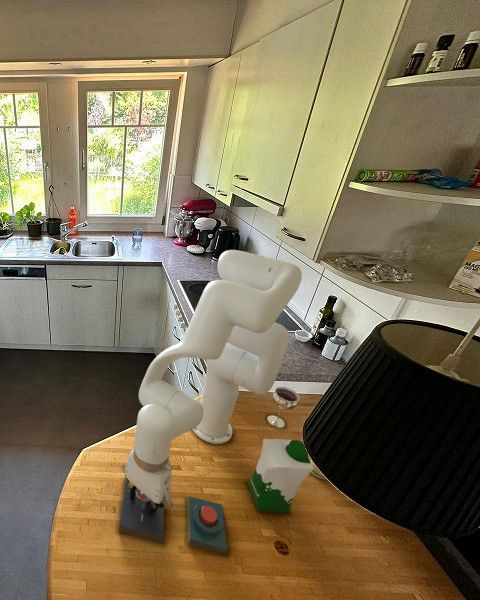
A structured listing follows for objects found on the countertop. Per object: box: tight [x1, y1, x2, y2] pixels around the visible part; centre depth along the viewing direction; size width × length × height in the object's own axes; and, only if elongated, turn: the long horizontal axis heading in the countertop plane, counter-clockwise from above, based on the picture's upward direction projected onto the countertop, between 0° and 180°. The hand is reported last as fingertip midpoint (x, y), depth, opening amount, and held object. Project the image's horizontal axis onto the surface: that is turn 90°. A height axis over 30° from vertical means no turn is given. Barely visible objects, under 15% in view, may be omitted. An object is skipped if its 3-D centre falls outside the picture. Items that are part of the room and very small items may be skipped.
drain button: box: [200, 506, 217, 526], centre depth 76 cm, size 4×4×2 cm
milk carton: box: [247, 438, 314, 514], centre depth 79 cm, size 9×9×20 cm
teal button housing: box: [186, 496, 228, 555], centre depth 77 cm, size 10×8×4 cm
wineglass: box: [267, 386, 300, 428], centre depth 103 cm, size 7×7×12 cm
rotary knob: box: [134, 487, 150, 512], centre depth 78 cm, size 4×4×5 cm
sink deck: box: [118, 477, 165, 544], centre depth 80 cm, size 13×10×3 cm
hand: (142, 502), depth 79 cm, fingers closed on rotary knob, 4 cm apart
